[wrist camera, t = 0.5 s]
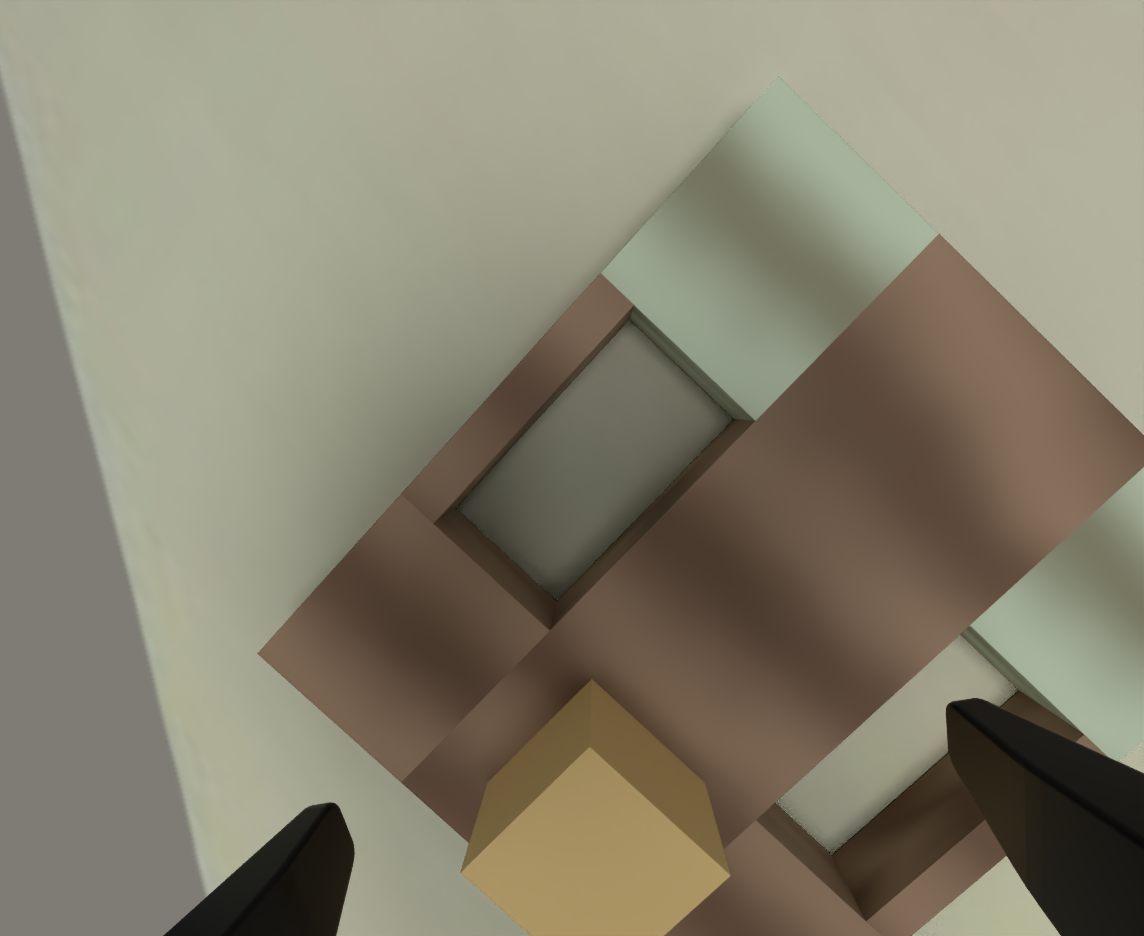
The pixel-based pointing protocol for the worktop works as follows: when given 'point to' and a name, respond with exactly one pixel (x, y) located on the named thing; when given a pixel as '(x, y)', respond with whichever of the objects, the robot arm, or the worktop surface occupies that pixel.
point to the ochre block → (595, 829)
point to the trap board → (771, 540)
